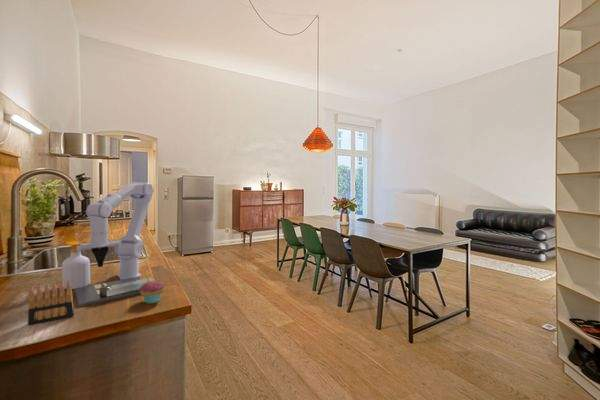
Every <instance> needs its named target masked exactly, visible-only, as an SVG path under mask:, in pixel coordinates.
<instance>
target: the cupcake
mask: <svg viewBox="0 0 600 400" xmlns="http://www.w3.org/2000/svg"><path fill="white" fill-rule="evenodd" d="M145 274H146V275H145V276H146V278H147V280H148V282H147V283H145V284H144V285H142V286H141V287H140V288H139V292H140V294H139V295H141V296H142V298H143V300H144V303H146V304H154V303H158V302H159V301H160V299H161V297H162V294H163V293H164V292H165V291H166V286H165V283H164V282H162V281H158V280H154V281H151V282H150V280H149V278H150V276H149V271H148V269H145Z"/></svg>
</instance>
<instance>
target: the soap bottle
mask: <svg viewBox="0 0 600 400" xmlns="http://www.w3.org/2000/svg"><path fill="white" fill-rule="evenodd" d="M81 228H83V226H77V227H71V228H68V229H66V230H64V243H65V245H66V246H71V248H72V249H71V250H70V256H69V257H67V258H66V259H65V260H63V261H62V263H61V273H62V274H61V275H62V276H61V278H62V279H61V280H62V282H63V284H64V290H66V286H67V282H68V280H69V281H70V283H71V290H75V288H80V287H85V286H90V284H91V261H90V259H89V258H88V256H87V257H86V256H84V255H82V252H81V251H77V249H76V246H78V245H85V243H84V242H81V241H79V242H78V241H76V231H77V230H79V229H81Z"/></svg>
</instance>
